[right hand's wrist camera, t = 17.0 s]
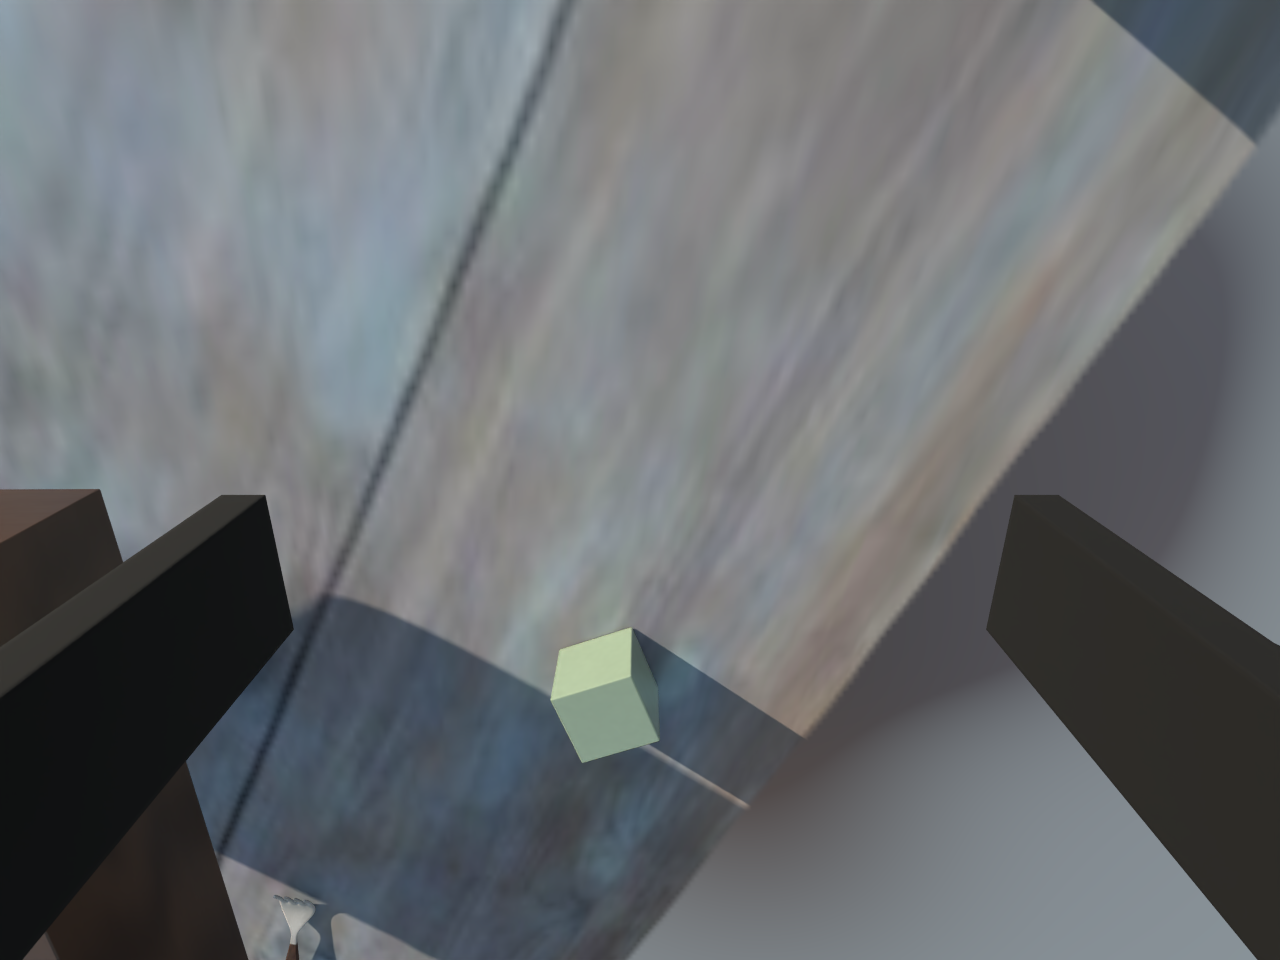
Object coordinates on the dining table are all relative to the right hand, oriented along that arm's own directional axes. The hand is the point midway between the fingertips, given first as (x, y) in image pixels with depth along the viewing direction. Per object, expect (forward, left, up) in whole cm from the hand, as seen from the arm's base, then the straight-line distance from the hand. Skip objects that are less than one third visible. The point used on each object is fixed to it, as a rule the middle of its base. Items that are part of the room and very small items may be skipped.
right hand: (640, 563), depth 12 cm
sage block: (+2, +22, -27) cm, 35 cm away
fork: (+27, +48, -27) cm, 61 cm away
